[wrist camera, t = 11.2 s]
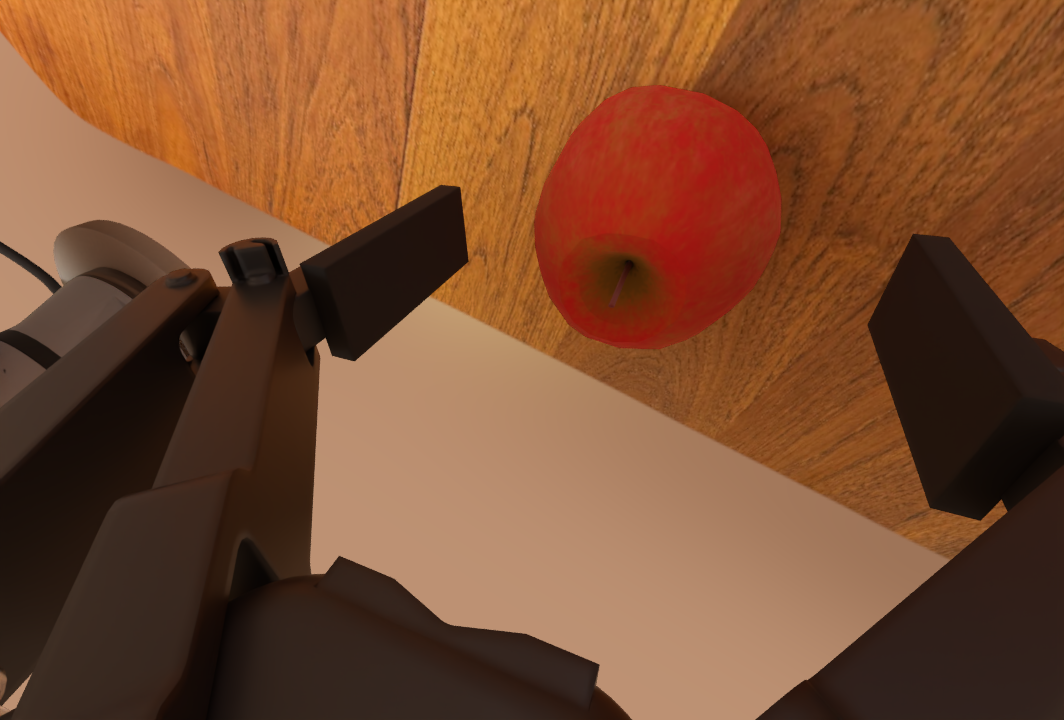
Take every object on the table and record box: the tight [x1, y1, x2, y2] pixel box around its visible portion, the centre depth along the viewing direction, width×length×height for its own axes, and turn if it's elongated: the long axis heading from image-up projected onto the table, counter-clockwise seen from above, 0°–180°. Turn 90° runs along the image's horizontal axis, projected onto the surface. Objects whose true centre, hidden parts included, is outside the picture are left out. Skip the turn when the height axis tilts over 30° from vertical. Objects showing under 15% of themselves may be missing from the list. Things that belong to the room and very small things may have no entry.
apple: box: [534, 85, 781, 349], centre depth 16 cm, size 8×8×11 cm
